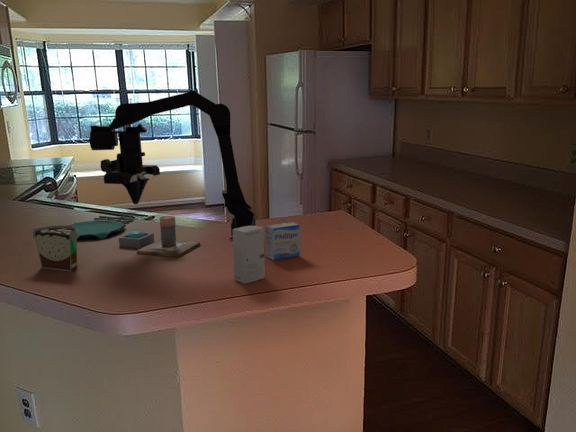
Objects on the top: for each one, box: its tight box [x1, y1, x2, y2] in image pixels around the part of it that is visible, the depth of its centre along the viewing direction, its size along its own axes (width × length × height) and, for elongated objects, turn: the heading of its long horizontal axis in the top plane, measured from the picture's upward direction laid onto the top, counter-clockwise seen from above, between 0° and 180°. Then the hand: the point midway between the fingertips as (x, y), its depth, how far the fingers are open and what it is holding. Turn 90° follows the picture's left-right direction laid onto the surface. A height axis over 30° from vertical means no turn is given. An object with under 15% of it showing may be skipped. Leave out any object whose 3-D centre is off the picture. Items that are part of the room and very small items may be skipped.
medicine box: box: [265, 221, 301, 262], centre depth 129 cm, size 8×4×9 cm, turn 118°
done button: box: [127, 230, 145, 238], centre depth 143 cm, size 4×4×2 cm
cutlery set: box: [69, 215, 139, 240], centre depth 163 cm, size 20×30×2 cm, turn 172°
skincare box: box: [232, 225, 266, 285], centre depth 113 cm, size 6×4×12 cm
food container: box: [32, 224, 80, 272], centre depth 124 cm, size 12×6×10 cm, turn 71°
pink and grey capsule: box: [159, 215, 177, 248], centre depth 137 cm, size 4×4×8 cm
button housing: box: [118, 231, 155, 249], centre depth 144 cm, size 7×7×3 cm
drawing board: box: [136, 238, 201, 258], centre depth 138 cm, size 13×12×1 cm
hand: (135, 203), depth 142 cm, fingers closed
